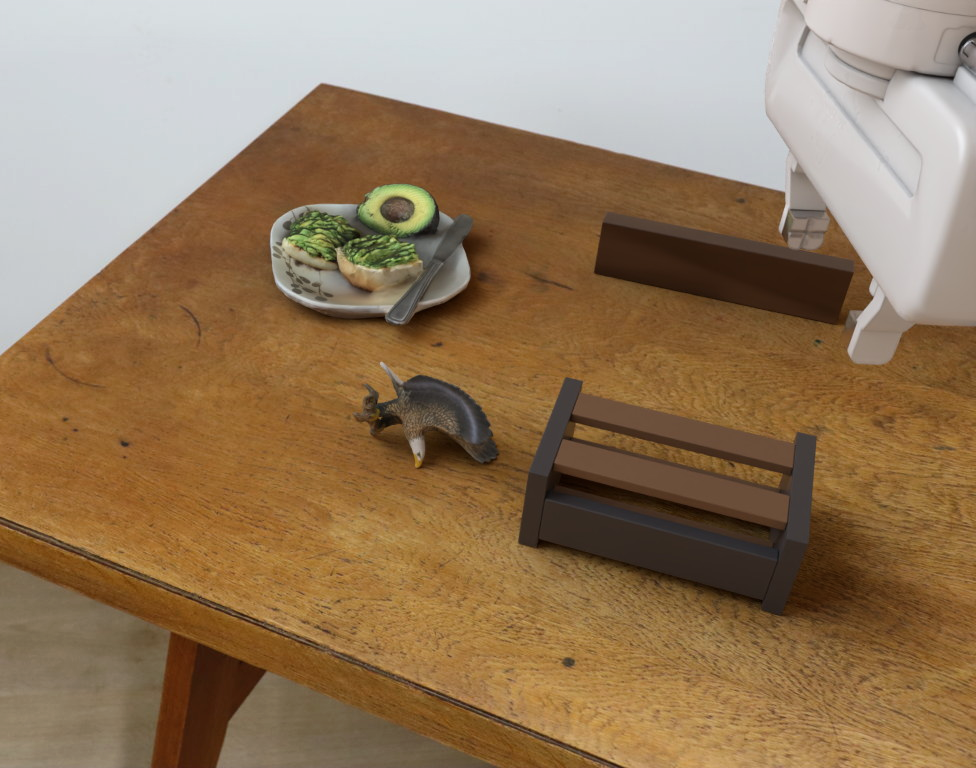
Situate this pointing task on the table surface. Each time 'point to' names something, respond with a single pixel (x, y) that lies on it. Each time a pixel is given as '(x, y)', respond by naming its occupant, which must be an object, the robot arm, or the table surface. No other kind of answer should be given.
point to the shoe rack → (672, 497)
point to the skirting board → (724, 267)
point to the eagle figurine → (430, 415)
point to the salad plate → (371, 255)
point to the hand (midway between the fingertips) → (828, 295)
